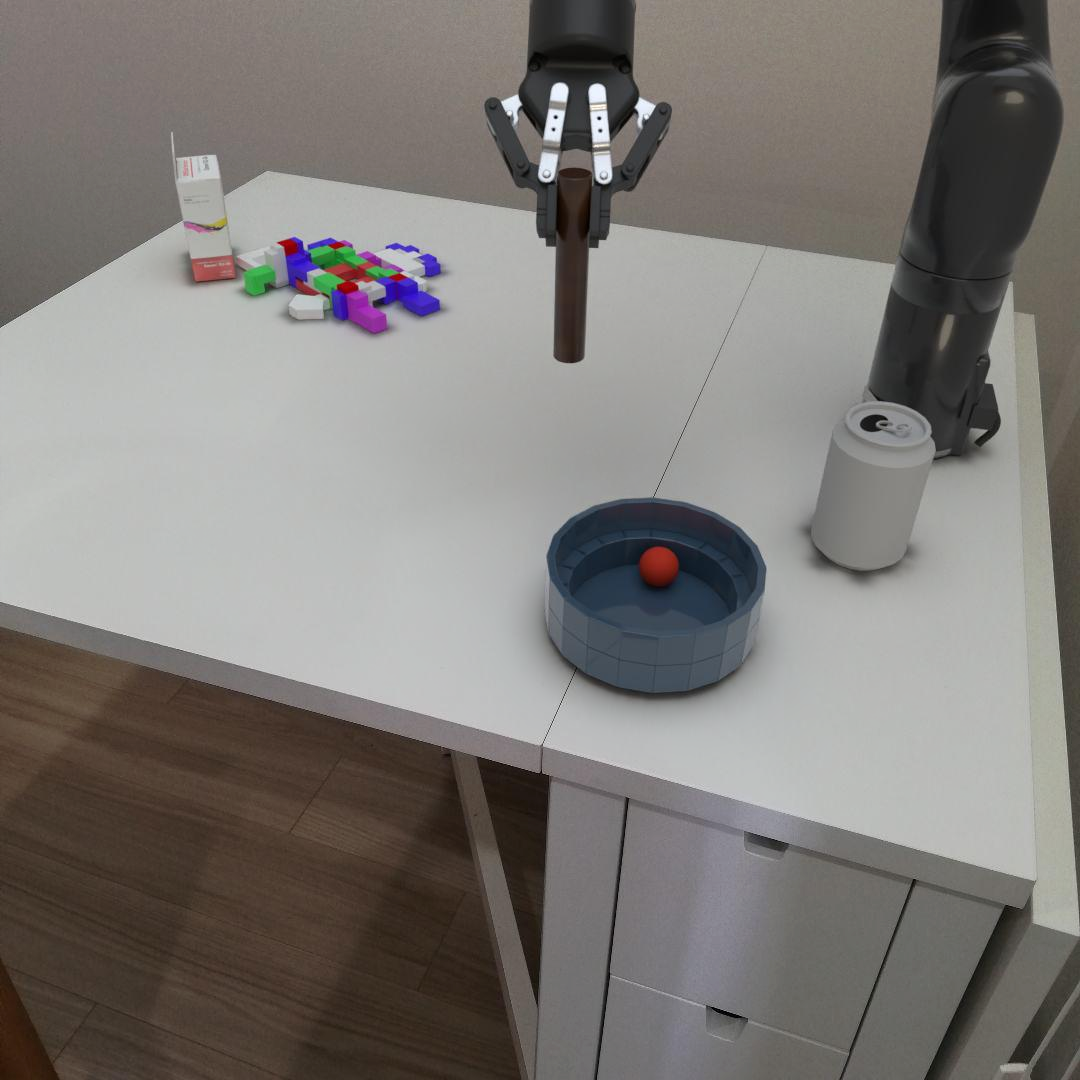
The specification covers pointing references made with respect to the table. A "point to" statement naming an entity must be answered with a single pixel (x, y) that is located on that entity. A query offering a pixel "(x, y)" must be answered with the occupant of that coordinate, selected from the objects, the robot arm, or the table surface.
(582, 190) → the stick
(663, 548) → the ball
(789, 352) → the table surface
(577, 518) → the bowl
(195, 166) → the ink cartridge box
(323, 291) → the building block set
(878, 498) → the can
